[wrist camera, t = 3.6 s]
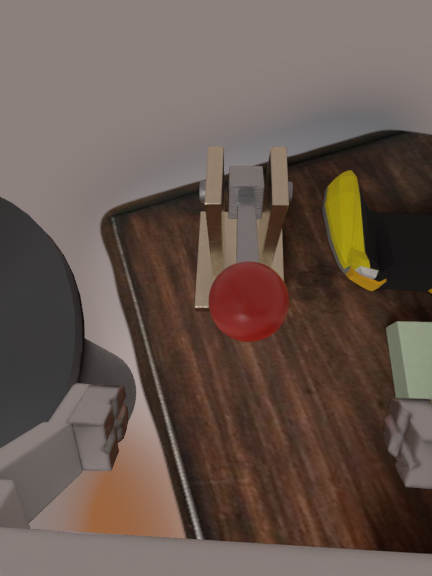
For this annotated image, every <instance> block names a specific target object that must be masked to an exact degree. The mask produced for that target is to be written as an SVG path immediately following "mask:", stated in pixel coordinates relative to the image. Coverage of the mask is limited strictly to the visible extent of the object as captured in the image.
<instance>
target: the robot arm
mask: <svg viewBox="0 0 432 576" xmlns="http://www.w3.org/2000/svg"><path fill="white" fill-rule="evenodd" d="M125 397H126V393H125V388H124V387H123V386H115V385H100V384H80V383H76V384H74V385H73V386H72V387H71V388H70V390H69V391H68V393H67V394H66V396H65V397H64V399H63V400H62V402H61V403H60V405H59V406H58V408H57V409H56V411H55V412H54V414H53V415H52V417H51V418H50V420H49V421H48V422H42V423H41V424H39V425H38V426H36V427H34V428H33V429H31V430H29V431H28V432H26V433H24V434H23V435H21V436H20V437H18V438H16V439H15V440H13V441H11V442H10V443H8V444H7V445H5V446H3V447H2V448H0V576H432V554H422V553H406V552H389V551H373V550H357V549H340V548H324V547H308V546H293V545H277V544H261V543H246V542H230V541H214V540H199V539H183V538H167V537H166V538H165V537H151V536H134V535H118V534H102V533H87V532H71V531H54V530H39V529H30V526H29V523H30V522H31V521H32V520H33V519H34V518H35V517H36V516H37V515H38V514H39V513H40V512H41V511H42V510H43V509H44V508H45V507H46V506H47V505H48V504H50V502H52V501H53V500H54V499H55V498H56V497H57V496H58V495H59V494H60V493H61V492H62V491H63V490H64V489H65V488H66V487H67V486H68V485H69V484H70V483H71V482H72V481H73V480H74V479H75V478H77V477H78V476H79V475H80V474H81V473H82V470H90V471H92V470H93V471H111V470H112V468H113V465H114V462H115V460H116V457H117V455H118V452H119V449H118V443H119V442H120V441H121V440H122V439H123V438H124V436H125V433H126V429H127V424H128V407H127V406H126V405H125V404H124V403H123V402H124V400H125ZM387 408H388V410H389V411H390V413H391V414H389V415H388V416H387V417H386V418H384V422H383V426H382V433H383V440H384V443H385V446H386V448H387V450H388V452H389V453H390V454H392V455H393V456H394V457H395V458H397V460H396V463H395V467H396V469H397V471H398V473H399V475H400V477H401V479H402V481H403V483H404V485H405V487H413V488H425V489H432V398H427V399H425V398H398V397H392V398H391V399H390V401H389V403H388V407H387Z"/></svg>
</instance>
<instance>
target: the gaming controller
mask: <svg viewBox="0 0 432 576" xmlns="http://www.w3.org/2000/svg"><path fill="white" fill-rule="evenodd" d="M323 215H324V220H325V225H326V230H327V235H328V240H329V244H330V247H331V249H332V252H333V254H334V257H335V259H336V262H337V264H338V266H339V268H340V270H341V271H342V272H343V273H344V274H345V275H346V276H347V277H348V279H350V280H351V281H353V282H355V283H356V284H358V285H360V286H361V287H363V288H365V289H367V290H369V291H374V290H376V289H378V288H383V289H398V290H414V291H429V292H430V293H432V214H428V215H417V214H397V213H378V212H375V211H371V210H370V209H369V208H368V207H366V205H365V202H364V199H363V195H362V192H361V188H360V185H359V182H358V179H357V177H356V175H355V174H354V173H353V171H351V170H350V171H346V172H343V173H342V174H340V175H339V176H338V177H336V178H335V179H334V180H333V181H332V182H331V183H330V185H329V186H328V187H327V188H326V190H325V195H324V203H323Z"/></svg>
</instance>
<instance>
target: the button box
mask: <svg viewBox="0 0 432 576" xmlns="http://www.w3.org/2000/svg"><path fill="white" fill-rule="evenodd" d="M386 332H387V339H388V346H389V353H390V360H391V367H392V374H393V381H394V388H395V395H396V397H398V398H425V399H427V398H432V322H410V321H397V322H395V323H393V324H391V325H390V326H388V327H386Z"/></svg>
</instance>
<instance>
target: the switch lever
mask: <svg viewBox="0 0 432 576" xmlns="http://www.w3.org/2000/svg"><path fill="white" fill-rule="evenodd" d="M264 188H265V185H264V176H263V167H262V166H230V168H229V198H228V218H229V219H237V246H236V264H233V265H231V266H229V267H227V268H226V269H224V270H223V271H222V272H221V273H220V274H219V275H218V276H217V278H216V279H215V280H214V282H213V284H212V286H211V289H210V293H209V310H210V314H211V316H212V319H213V321H214V322H215V324H216V325H217V327H218V328H219V329H220V330H221V331H222V332H223V333H225V334H226V335H228V336H229V337H231V338H233V339H236V340H239V341H245V342H253V341H258V340H262V339H265V338H267V337H269V336H270V335H272V334H273V333H275V332H276V331H277V330H278V329H279V328H280V326H281V325H282V324H283V322H284V320H285V318H286V316H287V313H288V309H289V295H288V291H287V287H286V285H285V283H284V281H283V280H282V278H281V277H280V276H279V275H278V273H277V272H275V271H274V270H273V269H272V268H270V267H268V266H266V265H264V264H261V263H259V251H258V236H257V221H256V219H262V209H263V199H264Z"/></svg>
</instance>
